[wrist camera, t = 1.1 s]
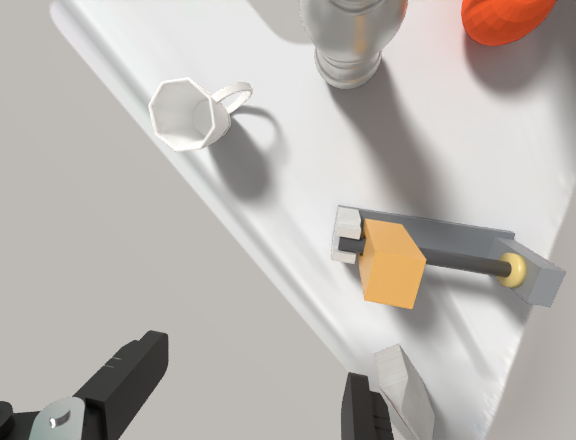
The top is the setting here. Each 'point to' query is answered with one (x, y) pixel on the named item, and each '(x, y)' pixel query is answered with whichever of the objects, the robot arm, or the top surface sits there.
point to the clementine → (502, 19)
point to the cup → (193, 113)
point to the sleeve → (390, 264)
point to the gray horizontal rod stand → (458, 251)
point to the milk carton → (405, 391)
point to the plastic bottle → (350, 36)
